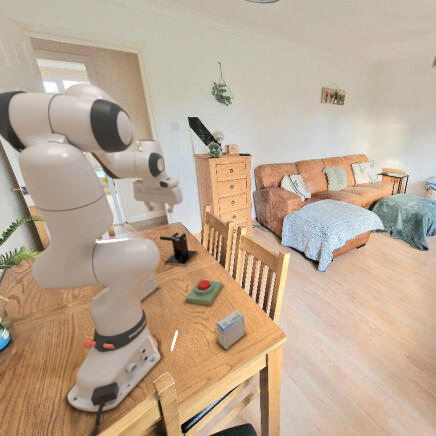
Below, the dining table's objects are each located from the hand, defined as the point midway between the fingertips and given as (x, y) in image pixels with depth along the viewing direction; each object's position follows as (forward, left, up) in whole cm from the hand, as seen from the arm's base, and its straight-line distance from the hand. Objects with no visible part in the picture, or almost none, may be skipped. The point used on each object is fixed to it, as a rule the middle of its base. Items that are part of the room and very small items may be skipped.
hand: (160, 211), depth 104 cm
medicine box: (-33, -43, -30) cm, 62 cm away
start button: (-14, -24, -26) cm, 38 cm away
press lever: (+4, 0, -17) cm, 17 cm away
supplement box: (-20, +4, -30) cm, 36 cm away
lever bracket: (+9, 0, -30) cm, 31 cm away
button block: (-14, -24, -30) cm, 41 cm away
